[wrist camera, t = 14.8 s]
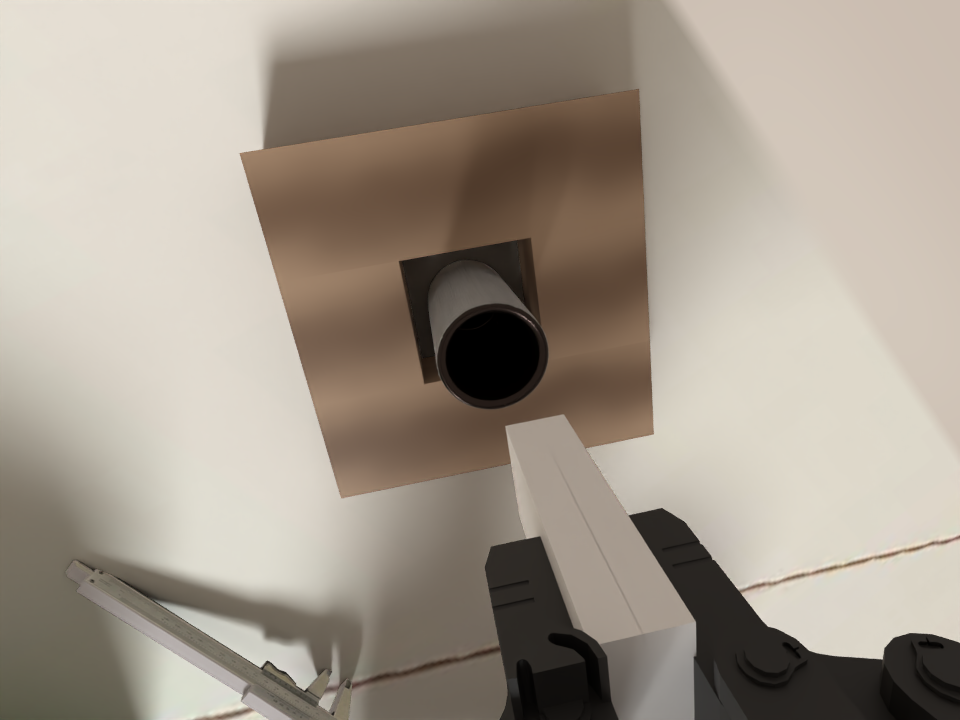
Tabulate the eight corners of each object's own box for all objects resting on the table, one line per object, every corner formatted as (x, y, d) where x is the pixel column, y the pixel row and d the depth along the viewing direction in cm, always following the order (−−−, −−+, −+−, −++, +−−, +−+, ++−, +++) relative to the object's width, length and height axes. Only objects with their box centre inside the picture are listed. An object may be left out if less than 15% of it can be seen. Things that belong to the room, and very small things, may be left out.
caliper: (353, 676, 40) (344, 764, 34) (345, 686, 40) (334, 775, 34) (76, 555, 34) (6, 638, 28) (68, 568, 34) (-3, 652, 28)
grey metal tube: (410, 300, 30) (412, 362, 21) (466, 241, 30) (494, 278, 20) (467, 351, 32) (492, 431, 22) (521, 297, 31) (572, 356, 22)
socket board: (627, 405, 35) (653, 434, 31) (348, 461, 33) (341, 498, 30) (608, 99, 28) (639, 89, 24) (262, 154, 27) (239, 153, 23)
